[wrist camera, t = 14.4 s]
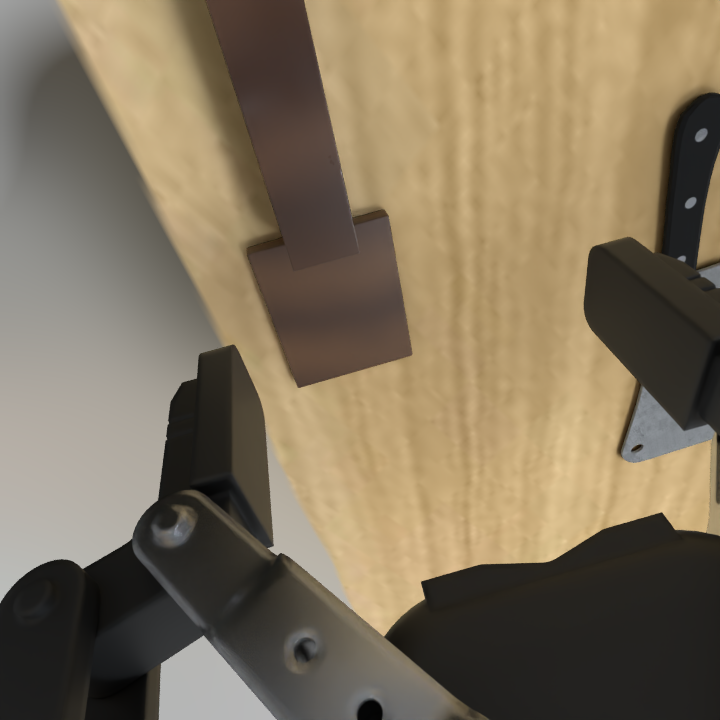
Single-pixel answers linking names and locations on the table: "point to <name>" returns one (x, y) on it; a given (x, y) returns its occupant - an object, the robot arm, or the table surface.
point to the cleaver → (681, 241)
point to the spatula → (309, 203)
